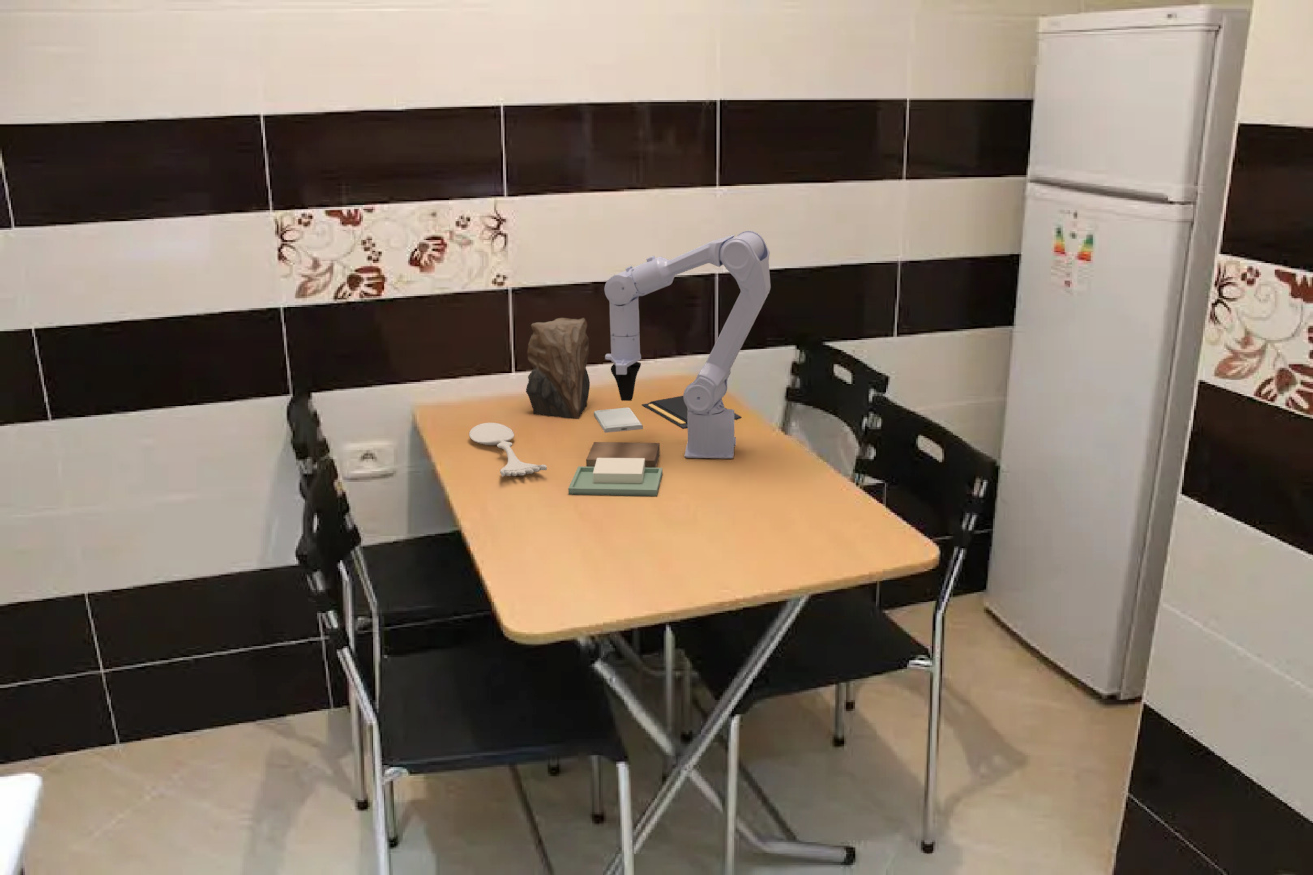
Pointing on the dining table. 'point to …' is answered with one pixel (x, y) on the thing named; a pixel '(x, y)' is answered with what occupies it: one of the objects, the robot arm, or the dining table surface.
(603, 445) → the deck
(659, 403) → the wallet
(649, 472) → the tray
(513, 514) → the dining table surface
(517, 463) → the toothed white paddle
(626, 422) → the hard drive
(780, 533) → the dining table surface
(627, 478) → the tile
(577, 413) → the brown rock
